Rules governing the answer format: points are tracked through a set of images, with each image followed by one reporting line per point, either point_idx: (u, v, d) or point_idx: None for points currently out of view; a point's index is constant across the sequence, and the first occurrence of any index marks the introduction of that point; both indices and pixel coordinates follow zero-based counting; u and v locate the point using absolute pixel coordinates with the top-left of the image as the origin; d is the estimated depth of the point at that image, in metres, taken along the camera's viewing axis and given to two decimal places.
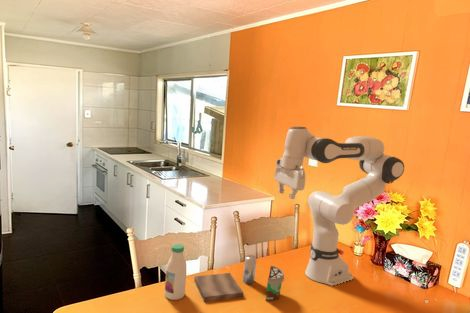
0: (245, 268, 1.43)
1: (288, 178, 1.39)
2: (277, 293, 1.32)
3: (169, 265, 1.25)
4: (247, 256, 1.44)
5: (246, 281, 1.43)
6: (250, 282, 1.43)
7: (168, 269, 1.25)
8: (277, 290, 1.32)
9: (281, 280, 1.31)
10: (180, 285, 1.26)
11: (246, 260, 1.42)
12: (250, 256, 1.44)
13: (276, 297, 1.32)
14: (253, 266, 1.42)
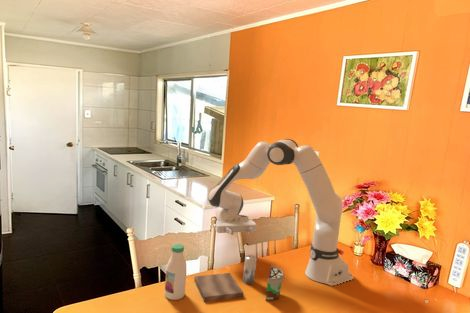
0: (245, 268, 1.43)
1: None
2: (277, 293, 1.32)
3: (169, 265, 1.25)
4: (247, 256, 1.44)
5: (246, 281, 1.43)
6: (250, 282, 1.43)
7: (168, 269, 1.25)
8: (277, 290, 1.32)
9: (281, 280, 1.31)
10: (180, 285, 1.26)
11: (246, 260, 1.42)
12: (250, 256, 1.44)
13: (276, 297, 1.32)
14: (253, 266, 1.42)
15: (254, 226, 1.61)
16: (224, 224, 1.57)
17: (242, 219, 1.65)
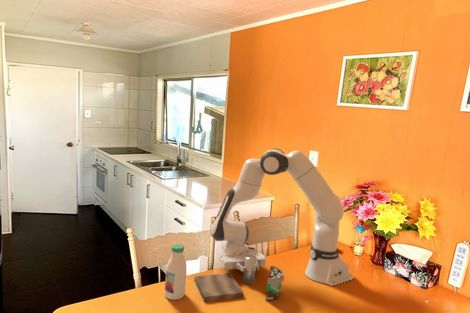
0: (245, 268, 1.43)
1: None
2: (277, 293, 1.32)
3: (169, 265, 1.25)
4: (247, 256, 1.44)
5: (246, 281, 1.43)
6: (250, 282, 1.43)
7: (168, 269, 1.25)
8: (277, 290, 1.32)
9: (281, 280, 1.31)
10: (180, 285, 1.26)
11: (246, 260, 1.42)
12: (250, 256, 1.44)
13: (276, 297, 1.32)
14: (253, 266, 1.42)
15: (263, 260, 1.51)
16: (232, 260, 1.47)
17: (250, 252, 1.55)
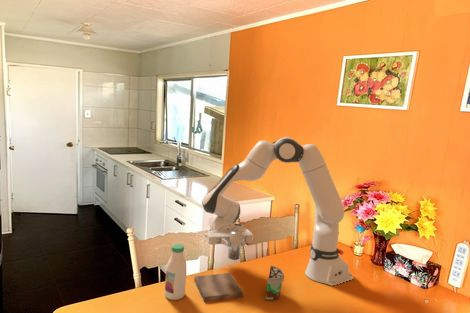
0: (230, 243, 1.37)
1: None
2: (277, 293, 1.32)
3: (169, 265, 1.25)
4: (232, 231, 1.39)
5: (231, 256, 1.37)
6: (235, 258, 1.37)
7: (168, 269, 1.25)
8: (277, 290, 1.32)
9: (281, 280, 1.31)
10: (180, 285, 1.26)
11: (231, 235, 1.36)
12: (235, 231, 1.39)
13: (276, 297, 1.32)
14: (238, 241, 1.36)
15: (250, 236, 1.45)
16: (217, 235, 1.41)
17: (237, 228, 1.49)
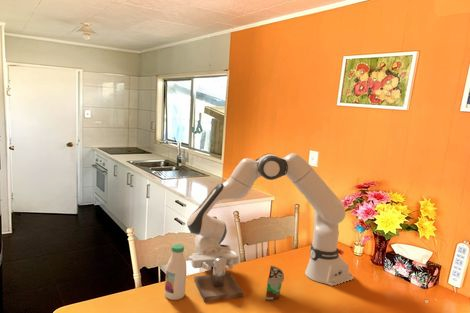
0: (214, 270, 1.34)
1: None
2: (277, 293, 1.32)
3: (169, 265, 1.25)
4: (216, 257, 1.36)
5: (215, 284, 1.34)
6: (219, 285, 1.34)
7: (168, 269, 1.25)
8: (277, 290, 1.32)
9: (281, 280, 1.31)
10: (180, 285, 1.26)
11: (215, 262, 1.34)
12: (219, 257, 1.36)
13: (276, 297, 1.32)
14: (222, 268, 1.34)
15: (236, 259, 1.42)
16: (201, 258, 1.38)
17: (222, 250, 1.46)
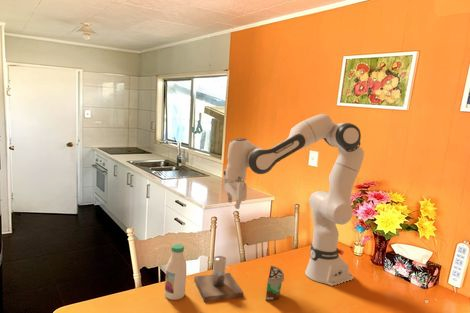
0: (214, 270, 1.35)
1: (232, 189, 1.45)
2: (277, 293, 1.32)
3: (169, 265, 1.25)
4: (216, 257, 1.36)
5: (215, 284, 1.34)
6: (219, 285, 1.34)
7: (168, 269, 1.25)
8: (277, 290, 1.32)
9: (281, 280, 1.31)
10: (180, 285, 1.26)
11: (214, 261, 1.34)
12: (219, 257, 1.36)
13: (276, 297, 1.32)
14: (222, 268, 1.34)
15: None
16: None
17: None
